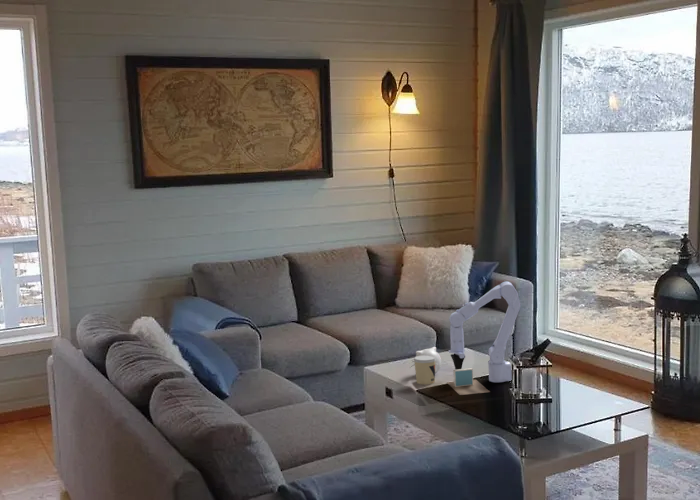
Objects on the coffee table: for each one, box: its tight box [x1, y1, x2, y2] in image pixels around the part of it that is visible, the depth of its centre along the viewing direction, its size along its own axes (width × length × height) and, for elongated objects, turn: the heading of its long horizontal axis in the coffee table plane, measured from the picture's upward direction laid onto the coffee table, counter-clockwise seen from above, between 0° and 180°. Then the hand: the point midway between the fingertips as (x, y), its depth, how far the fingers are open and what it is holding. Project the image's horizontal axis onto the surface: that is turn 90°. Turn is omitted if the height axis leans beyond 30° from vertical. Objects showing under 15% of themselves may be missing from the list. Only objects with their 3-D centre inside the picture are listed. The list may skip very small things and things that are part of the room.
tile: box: [452, 367, 474, 387], centre depth 337 cm, size 8×2×7 cm, turn 98°
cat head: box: [409, 346, 442, 375], centre depth 360 cm, size 15×13×12 cm
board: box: [446, 379, 491, 396], centre depth 335 cm, size 13×20×1 cm, turn 8°
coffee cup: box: [413, 355, 436, 385], centre depth 346 cm, size 9×9×12 cm
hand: (458, 370), depth 344 cm, fingers closed
